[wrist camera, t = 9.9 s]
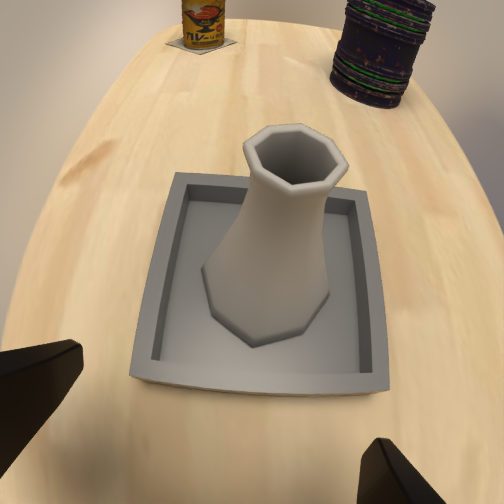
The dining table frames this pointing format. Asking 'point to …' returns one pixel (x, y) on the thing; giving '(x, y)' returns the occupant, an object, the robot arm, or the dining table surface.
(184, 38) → the condiment
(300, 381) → the tray
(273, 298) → the flask
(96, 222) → the dining table surface
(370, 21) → the storage jar
